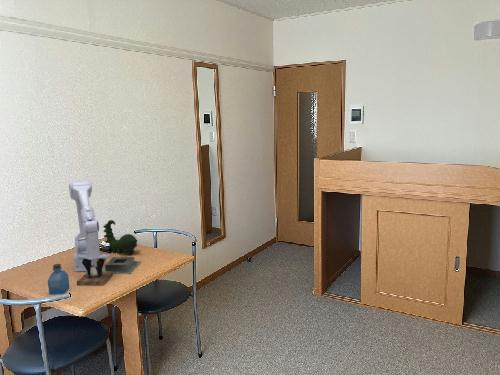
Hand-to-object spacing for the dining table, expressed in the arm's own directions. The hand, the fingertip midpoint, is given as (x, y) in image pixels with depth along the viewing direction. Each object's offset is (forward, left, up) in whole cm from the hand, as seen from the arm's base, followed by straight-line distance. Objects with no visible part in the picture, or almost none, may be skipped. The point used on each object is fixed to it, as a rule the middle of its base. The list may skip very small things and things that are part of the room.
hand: (95, 274), depth 192 cm
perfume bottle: (-11, -12, -3) cm, 17 cm away
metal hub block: (+6, +16, -3) cm, 17 cm away
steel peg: (0, 0, -3) cm, 3 cm away
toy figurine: (-2, +40, -3) cm, 40 cm away
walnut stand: (0, 0, -3) cm, 3 cm away
